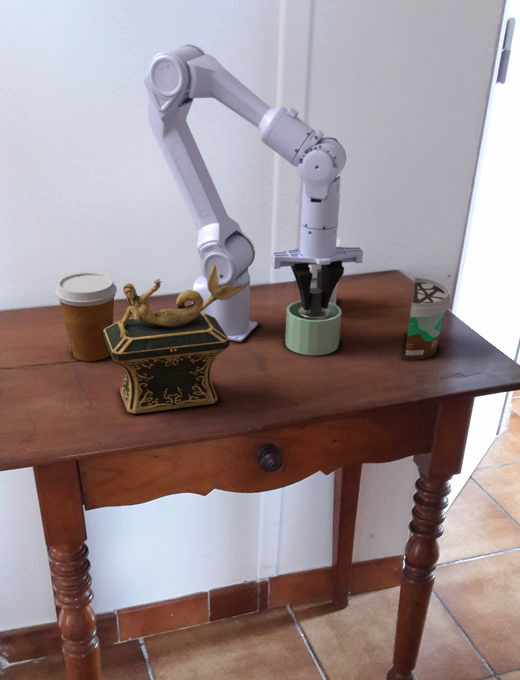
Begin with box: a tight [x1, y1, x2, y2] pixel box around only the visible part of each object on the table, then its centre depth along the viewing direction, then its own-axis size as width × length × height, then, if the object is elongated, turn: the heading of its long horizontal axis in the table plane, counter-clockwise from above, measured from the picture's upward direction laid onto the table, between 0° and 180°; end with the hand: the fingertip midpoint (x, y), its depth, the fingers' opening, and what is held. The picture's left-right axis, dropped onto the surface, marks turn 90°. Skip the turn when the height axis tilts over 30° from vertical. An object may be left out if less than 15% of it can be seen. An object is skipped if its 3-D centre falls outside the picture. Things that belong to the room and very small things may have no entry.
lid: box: [298, 288, 330, 320], centre depth 139 cm, size 5×5×4 cm
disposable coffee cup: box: [54, 271, 118, 362], centre depth 136 cm, size 10×10×12 cm
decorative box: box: [103, 263, 246, 415], centre depth 122 cm, size 20×10×20 cm, turn 107°
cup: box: [284, 300, 342, 356], centre depth 142 cm, size 9×9×6 cm
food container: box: [404, 277, 451, 360], centre depth 140 cm, size 12×6×10 cm, turn 168°
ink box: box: [310, 237, 343, 305], centre depth 153 cm, size 9×5×12 cm, turn 172°
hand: (314, 307), depth 140 cm, fingers closed on lid, 2 cm apart
